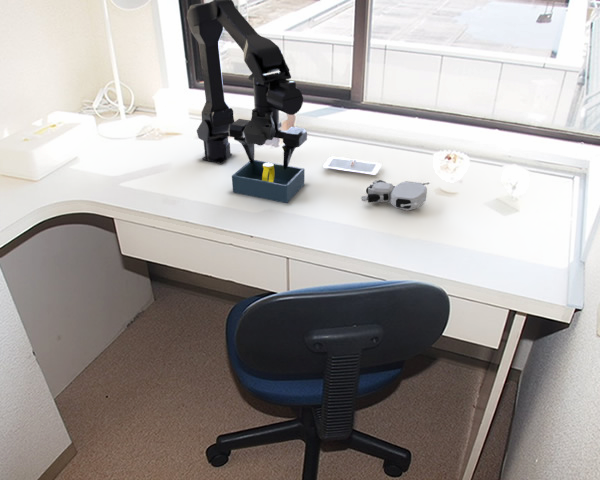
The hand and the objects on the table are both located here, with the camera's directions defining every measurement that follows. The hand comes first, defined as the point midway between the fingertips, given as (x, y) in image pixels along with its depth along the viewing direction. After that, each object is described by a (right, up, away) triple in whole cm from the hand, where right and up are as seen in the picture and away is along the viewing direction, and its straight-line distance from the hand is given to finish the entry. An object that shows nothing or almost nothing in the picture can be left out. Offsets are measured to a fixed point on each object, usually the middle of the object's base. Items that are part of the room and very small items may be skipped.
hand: (268, 165), depth 140 cm
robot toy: (+31, -10, -2) cm, 33 cm away
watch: (0, -5, +4) cm, 6 cm away
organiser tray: (0, -5, +4) cm, 6 cm away
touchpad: (+22, +2, +14) cm, 26 cm away
